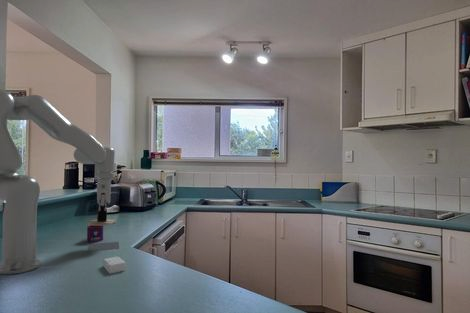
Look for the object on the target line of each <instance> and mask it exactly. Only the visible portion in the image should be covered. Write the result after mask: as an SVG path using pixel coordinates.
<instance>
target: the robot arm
mask: <svg viewBox="0 0 470 313" xmlns="http://www.w3.org/2000/svg"><path fill="white" fill-rule="evenodd" d="M8 120H9V121H29V120H30V121H32V122H33V123H34V124H36V125H37V126H38V127H39V128H40V129H41V130H43V132H45V133H46V134H47V135H48V136H49V137H51V139H53V140H56V141H59V142H61V143H64V144H67V145H70V146H72V147H74V148H76V149H75V150H74V152H73V158H74V160H75V161H76V162H77V163H79V164H82V165H94V180H95V181H96V182H97V184H96V201H97V204H98V209H99V211H98V210H97V212H98V221H106V214H107V215H108V210H107V211H106V209H107V203H108V204H111V195H112V194H111V191H112V181H114V178H115V177H114V176H115V173H114V172H115V155H116V154H115V152H116V151H115V149H114V148H113V147H108V146H107V147H105V146H103V145H102V143H100V142H99V141H98V140H97V139H96V138H95V137H94V136H92V135H91V134H90V133H89V132H86V131H85V130H84V129H82V128H80V127H79V126H77V125H75V124H73V123H72V122H70V121H69V120H68V119H67V118H66V117H65V116H64V115H63V114H61V113H60V111H59V110H58V109H57V108H56V107H54V105H52V104H51V103H50V102H49V101H48V100H47V99H46V98H45V97H43V96H41V95H39V94H31V95H30V94H29V95H26V96H13V94H12V93H10V92H9V91H7V90H5V89H0V200H2V201H5V204H4V208H3V213H2V247H1V248H2V253H1V254H2V258H1V260H2V261H1V264H0V274H1V275H12V274H13V275H14V274H23V273H26V272H30V271H33V270H35V269H36V270H37V269H38V268H39V267H41V266H42V260H41V259H38V258H37V237H38V236H37V233H38V232H37V228H38V227H37V221H38V220H37V218H38V217H37V216H38V215H37V214H38V205H39V204H38V203H39V199H40V193H41V189H40V185H39V183H38V181H37V180H36V179H35V178H34V177H32V176H30V175H26V174H19V172H18V171H19V170H20V169H21V168H22V165H23V158H22V155H21V153H20V152H19V149H18V147H17V146H16V144H15V141H14V140H13V138H12V136H11V134H10V132H9V129H8Z"/></svg>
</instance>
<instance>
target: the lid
mask: <svg viewBox="0 0 470 313" xmlns="http://www.w3.org/2000/svg"><path fill="white" fill-rule="evenodd" d="M98 211H99V208H98V209H97V216H96V219H93V220H88V221H87V224H86V225H87V226H91V225H94V226H103V227H104V226H111V225H115V224H116V223H117V221H116V220H115V219H110V218H109V219H108V218H107V216H108V213H107V214H106V221H98ZM106 211H107V212H108V209H107V208H106Z"/></svg>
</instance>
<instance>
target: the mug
mask: <svg viewBox="0 0 470 313" xmlns="http://www.w3.org/2000/svg"><path fill="white" fill-rule="evenodd" d="M102 241H104V225H103V226H94V225H87V228H86V242H87V243H97V242H98V243H100V242H102Z"/></svg>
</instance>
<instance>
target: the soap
mask: <svg viewBox="0 0 470 313" xmlns="http://www.w3.org/2000/svg"><path fill="white" fill-rule="evenodd" d="M102 267H103V268H104V269H105V270H106V271H107V273H109V274H116V273H120V271H121V272H125V271H126V270H127V263H126V262H125V261H124V260H123V259H122V258H120V257H119V256H114V257H108V258H103V260H102Z"/></svg>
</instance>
